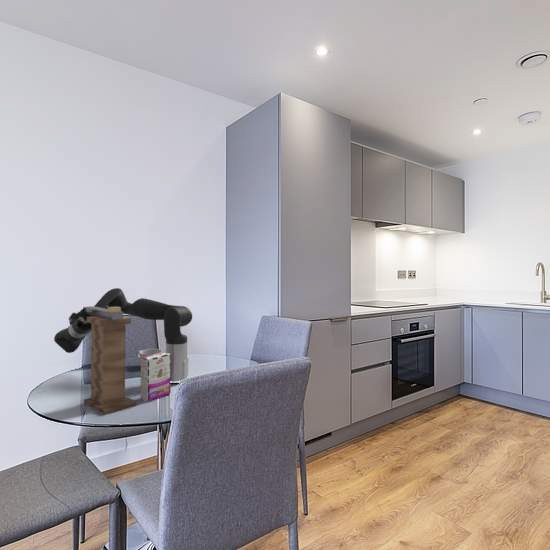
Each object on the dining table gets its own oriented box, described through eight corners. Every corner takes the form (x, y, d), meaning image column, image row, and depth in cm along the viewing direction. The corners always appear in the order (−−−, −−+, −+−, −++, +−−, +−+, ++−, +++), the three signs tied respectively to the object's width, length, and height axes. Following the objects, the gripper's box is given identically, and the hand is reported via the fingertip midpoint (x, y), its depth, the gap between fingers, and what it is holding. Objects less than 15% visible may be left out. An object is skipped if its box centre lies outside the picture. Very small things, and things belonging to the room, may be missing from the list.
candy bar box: (162, 391, 156) (162, 351, 155) (170, 394, 153) (171, 353, 153) (139, 399, 146) (139, 357, 146) (148, 402, 144) (148, 359, 143)
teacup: (166, 366, 195) (166, 350, 195) (148, 370, 186) (149, 354, 186) (147, 362, 203) (148, 347, 202) (130, 366, 194) (130, 350, 193)
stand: (83, 402, 142) (83, 316, 141) (114, 394, 151) (115, 314, 151) (104, 414, 131) (105, 321, 130) (136, 405, 140) (137, 318, 139)
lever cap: (83, 313, 151) (83, 302, 151) (93, 312, 154) (93, 302, 154) (112, 319, 135) (112, 308, 135) (123, 318, 138) (123, 307, 138)
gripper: (60, 319, 153) (75, 301, 143) (96, 316, 163) (112, 299, 154) (64, 336, 150) (79, 319, 141) (100, 332, 161) (117, 316, 152)
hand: (97, 309), depth 147 cm, fingers open, 8 cm apart
